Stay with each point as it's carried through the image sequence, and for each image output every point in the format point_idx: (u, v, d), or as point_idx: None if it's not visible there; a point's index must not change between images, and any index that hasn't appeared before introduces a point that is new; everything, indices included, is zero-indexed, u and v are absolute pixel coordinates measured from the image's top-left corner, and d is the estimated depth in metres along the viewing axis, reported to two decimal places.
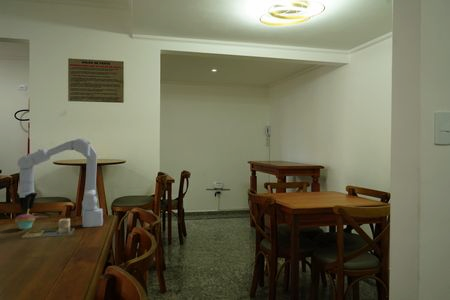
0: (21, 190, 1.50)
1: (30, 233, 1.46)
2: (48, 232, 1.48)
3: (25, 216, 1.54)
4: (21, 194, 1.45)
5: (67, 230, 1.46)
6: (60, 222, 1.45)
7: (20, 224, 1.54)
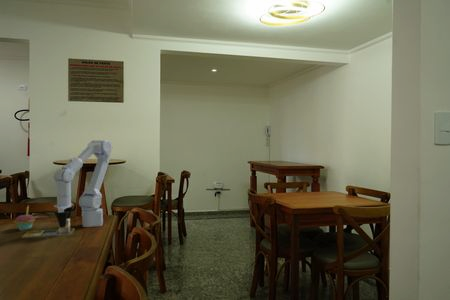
0: (59, 204, 1.44)
1: (30, 233, 1.46)
2: (48, 232, 1.48)
3: (25, 218, 1.53)
4: (60, 209, 1.40)
5: (67, 230, 1.46)
6: None
7: (20, 226, 1.53)
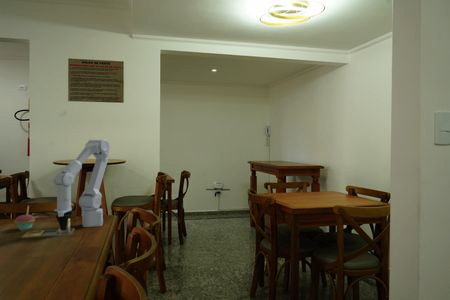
0: (59, 208, 1.44)
1: (30, 233, 1.46)
2: (48, 232, 1.48)
3: (25, 218, 1.53)
4: (60, 213, 1.40)
5: (67, 230, 1.46)
6: None
7: (20, 226, 1.53)
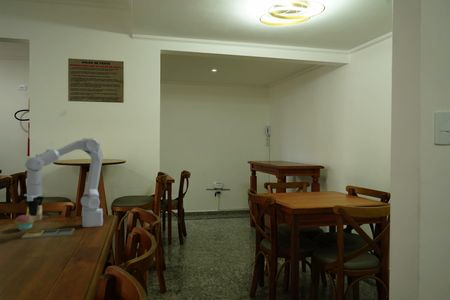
0: (28, 193, 1.41)
1: (30, 233, 1.46)
2: (48, 232, 1.48)
3: (25, 218, 1.53)
4: (29, 197, 1.37)
5: (38, 217, 1.42)
6: None
7: (20, 226, 1.53)
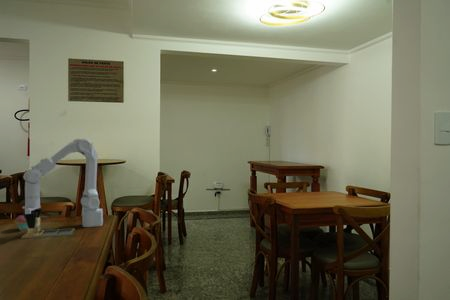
0: (26, 206, 1.41)
1: (30, 233, 1.46)
2: (48, 232, 1.48)
3: None
4: (27, 210, 1.37)
5: (36, 229, 1.42)
6: None
7: (20, 226, 1.53)
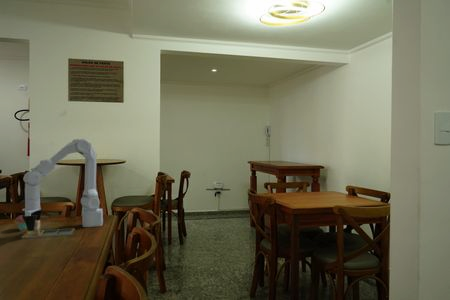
0: (26, 208, 1.41)
1: None
2: (48, 232, 1.48)
3: None
4: (27, 213, 1.37)
5: (36, 232, 1.42)
6: None
7: (20, 226, 1.53)
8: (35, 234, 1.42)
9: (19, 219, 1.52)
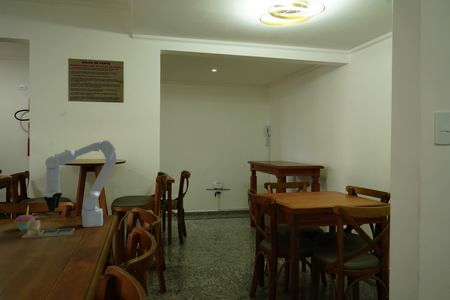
0: (48, 190, 1.51)
1: None
2: (48, 232, 1.48)
3: (25, 218, 1.53)
4: (49, 194, 1.47)
5: (36, 232, 1.42)
6: (29, 224, 1.42)
7: (20, 226, 1.53)
8: (35, 234, 1.42)
9: (19, 219, 1.52)
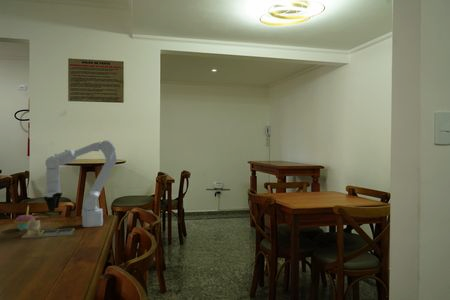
0: (48, 190, 1.51)
1: None
2: (48, 232, 1.48)
3: (25, 218, 1.53)
4: (49, 194, 1.47)
5: (36, 232, 1.42)
6: (29, 224, 1.42)
7: (20, 226, 1.53)
8: (35, 234, 1.42)
9: (19, 219, 1.52)
